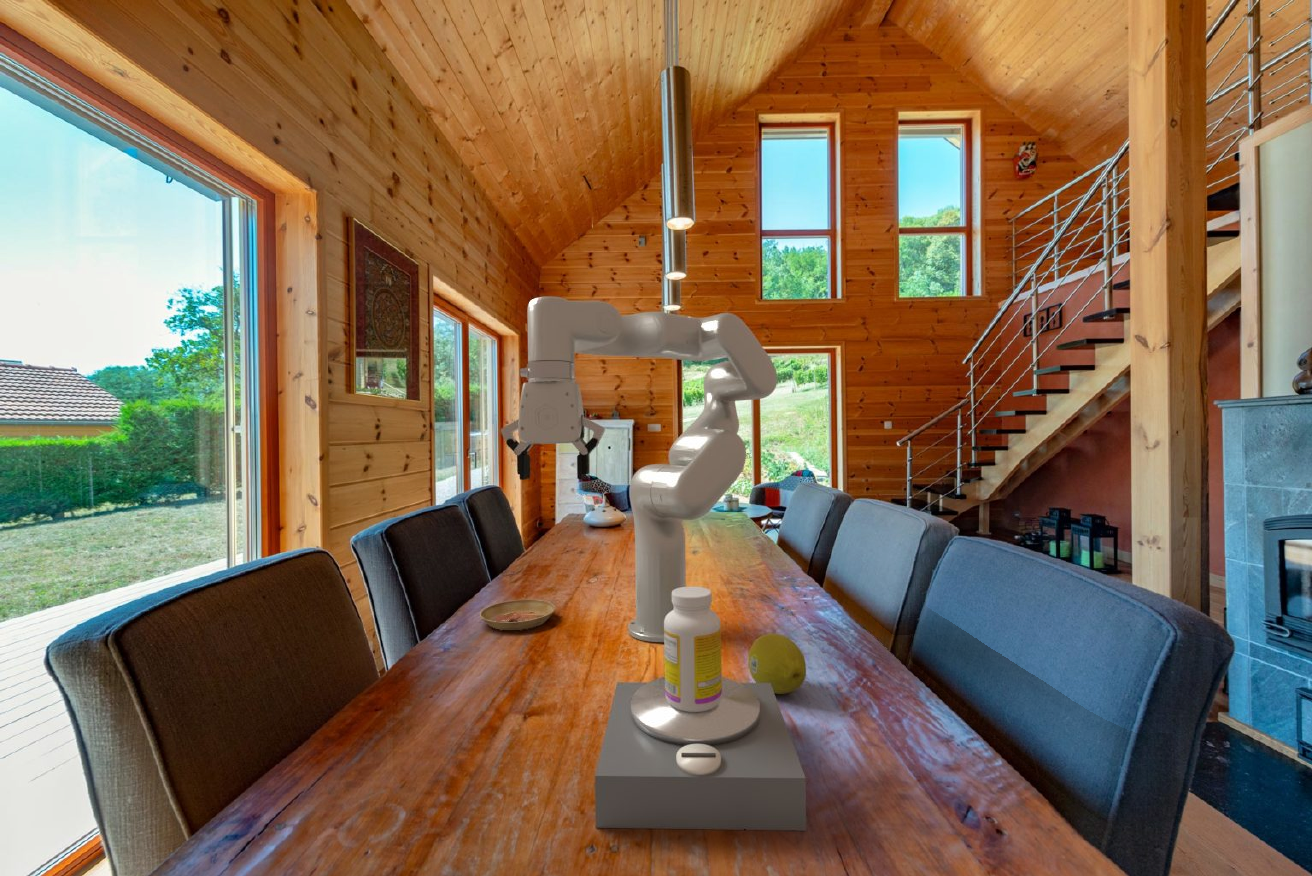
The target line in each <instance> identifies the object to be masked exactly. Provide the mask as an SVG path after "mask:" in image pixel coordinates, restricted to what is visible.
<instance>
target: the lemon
mask: <svg viewBox="0 0 1312 876" xmlns="http://www.w3.org/2000/svg"><path fill="white" fill-rule="evenodd" d="M747 657H748V658H747V662H748V669H749V673H750V675H751V677H752V679H753V681H754V683H771V686H772V688H773V691H774V694H776V695H783V694H790V693H792V692H795V691H796V690H798V689H799V688H800V687H801V686H802V684H803V683H804V682H805V679H806V676H807V666H806V660H805V656H804V654H803V652H802V651H801V650H800V648H799V647H798V645H797V643H795V642H794V641H793V640H792V639H790V638H789V637H788V636H785V635H782V634H779V633H774V632H773V633H770V632H769V633H765V634H763V635H761V636H759V637H758V638H757V639H756V640H754V641H753V643H752V645H751V647H750V649H749V651H748V656H747Z"/></svg>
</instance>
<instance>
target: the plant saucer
mask: <svg viewBox="0 0 1312 876" xmlns="http://www.w3.org/2000/svg"><path fill="white" fill-rule="evenodd" d="M523 611H524V612H534V613H535V614H534V613H532V614H526V615H544V616H542V617H539V618H534V619H533V618H532V619H529V620H528V619H527V620H526V619H525V621H518V622H496V621H491V620H492V618H494V617H496V616H498V615H507V614H510V613H514V612H523ZM554 611H556V605H555V604H553V603H552V602H550V601H547V600H542V599H534V598H533V599H513V600H507V601H500V602H498V603H495V604H490V605H489V606H486V607H485V608H484V609H482V610H480V612H479V616H480V618H481V619H482V621H483V622H485V623H486V624H487V625H488V626H489V627H491V628H492V627H493V628H492V629H494V628H495V629H494V630H497V629H500V630H499V631H502V630H520V631H522V630H521V629H526V630H529V629H528V628H531V629H533V628H532V627H534V628H537V627H540V626H541V625H543V624H544V623H546V621H547V620H548V619H549V618H550V617H551V616H552V615H553V613H554ZM514 615H516V614H514ZM524 615H525V614H524ZM502 621H505V620H502ZM506 621H507V620H506ZM508 621H509V620H508ZM536 626H537V627H536Z"/></svg>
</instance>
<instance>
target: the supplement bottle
mask: <svg viewBox="0 0 1312 876" xmlns="http://www.w3.org/2000/svg"><path fill="white" fill-rule="evenodd" d="M712 600H713V599H712V591H711V590H710V589H709V588H705V587H701V586H686V587H680V588H677V589H674V590H673V591H672V603H673V606H674V610H672V611H671V612H669V613H668V614H667V615H666V617H665V620H664V642H663V643H664V647H663V648H664V650H663V651H664V677H665V694H666V699H667V701H668V703H669V704H670V705H671V706H673V707H674V708H676V709H679V710H682V711H688V712H702V711H707V710H710V709H712V708H714V707H716V706H717V705H718V704H719V703H720V701H721V698H722V677H723V676H722V675H723V674H722V671H723V669H722V637H721V635H722V634H721V633H722V632H721V629H722V628H721V620H720V617H719V616H718V614H717V613H716V612H714V611H713V610H712V609H711V604H712Z"/></svg>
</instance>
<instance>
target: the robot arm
mask: <svg viewBox="0 0 1312 876" xmlns="http://www.w3.org/2000/svg"><path fill="white" fill-rule="evenodd" d="M526 315H527V362H528V363H527V364H526V367H524V368H520V370H519V371H520V372H519V374H520V375H519V376H520V377H521V378H522V377H525V378H526V380H527V381H528V382H523V384H522V388H521V395H520V399H519V411H518V419H516V420H514V421H513V422H511V423H510V424H507V425H506V426H503V427H502V428H501V429H500V433H501V435H502V437H503V439H504V441H505V442H506V443H505V444H506V446H507V447H508V448H509V449H511V450H512V452H513V454H514V455H515V456H516V468H517V469H516V470H517V475H519V480H520V481H523V480H529V479H531V455H530V454H528V451H530V449H531V448H532V447H533V445H534V444H535V445H538V444H539V445H540V444H549V445H550V444H572V445H573V446H574V447H575V448H576V450H577V451H578V454H577V456H576V461H577V462H576V472H577V473H576V474H577V477H576V478H577V480H580V481H581V480H586V479H587V475H590V454H591V453H592V452H593V451H594V449H595V448H596V447H597V446H598V445H599V444H600V441H601V439H602V437H603V435H604V434H605V431H606V428H605V427H604V426H602V425H600V424H598V423H596V422H595V421H592V420H590V419H589V418H587V417H585V416H584V415H585V413H584V405H583V399H582V393H581V388H580V383H579V382H578V381H576V371H575V370H576V366H575V365H576V363H575V355H576V354H581V355H583V354H584V355H593V356H605V357H607V356H609V357H610V356H612V357H614V356H615V357H632V358H633V357H634V358H660V359H671V360H682V361H692V362H707V361H713V360H720V359H726V358H727V359H728V360H726V361H722V362H719V363H715V364H714V365H712V366H711V367H709V369H708V370H707V371H706V373H705V376H704V377H703V378H704V379H703V394H704V407H703V409H702V412H701V413H700V415H699V416H698V417H697V418H696V419H695V420H694V421H693V422H692V423H691V424H690V425H689V426H688V427H687V428H686V429H685V430H684V431H683V433H682V434H680V436H679V437H677V439H675V440H674V442H673V444H672V445H671V447H670V448H669V451H668V462H669V464H666V463H665V464H663V463H662V464H661V463H655V464H653V463H652V464H648V465H645V466H643V467H641V468H638V470H637V471H636V472H635V473H634V474H633V476H632V478H631V480H630V483H629V492H628V493H629V502H630V507H631V511H632V516H633V525H634V527H633V528H634V548H635V549H634V555H635V558H634V560H635V565H634V566H635V618H634V619H632V620H630V622H629V623H628V624H627V632H628V634H629V635H630V636H631V637H633V638H634V639H636V640H640V641H645V642H650V643H664V620H665V617H666V615H667V614H668V613H669V612H671V611H672V610H674V606H673V603H672V591H673V590H674V589H677V588H680V587H687V584H686V583H687V582H686V580H687V578H686V577H687V576H686V572H687V571H686V569H687V568H686V533H685V531H684V530H685V529H684V526H683V523H682V520H686V521H687V520H688V521H690V520H692V521H693V520H697V519H700V518H702V517H704V516H705V515H707V514H708V513H709V512H710V511H711V510H712V509H713V507H714V506H715V505H716V504H717V503H718V502H719V500H721V498H722V497H723V496H724V495H725V494H726V493H727V491H728V490H729V489H730V488H731V487H732V486H733V484H734V483H735V482H736V480H737V479H738V478H739V476H740V475H741V473H742V472H743V469H744V466H745V463H746V460H747V459H746V458H747V449H746V445H745V443H744V441H743V439H742V438H741V436H740V435H738V432H739V430H740V421H739V415H738V413H737V407H736V406H737V405H736V402H740V401H749V400H750V401H752V400H753V401H754V400H761V399H762V400H763V399H765V398H767V397H769V396H771V394H773V392H774V391H775V390H776V387H777V384H778V374H777V369H776V367H775V364H774V362H773V360H772V359H771V357H770V356H769V354H768V353H767V351H766V350H765V349H764V348H763V346H762V344H761V343H760V342H759V340H758V339H757V337H756V336H755V334H754V333H753V331H752V330H751V329H750V328H749V327H748V326H747V324H746V323H745V322H744V321H743V320H742V319H741V318H740V317H739V316H737V315H735V313H731V312H723V313H718V314H714V315H710V316H707V317H694V316H687V315H682V314H675V313H671V312H670V313H669V312H665V311H644V312H640V313H639V312H638V313H633V314H627V315H621V313H620V311H619V310H618V309H617V308H616V306H614V305H613V304H611V303H608V302H606V301H602V300H568V299H567V298H564V297H559V296H546V295H545V296H540V297H539V296H538V297H535V298H533V299H531V300H530V301H529V303H528V305H527V314H526ZM585 428H587V429H588V430H591V431H592V433H593V435H592V436H591V438H590V439H589V441H587V442H586V440H585V430H586V429H585ZM515 431H518V432H517V434H518V440H519V441H520V442H518V440H517V439H515V436H514V433H515Z"/></svg>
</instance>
